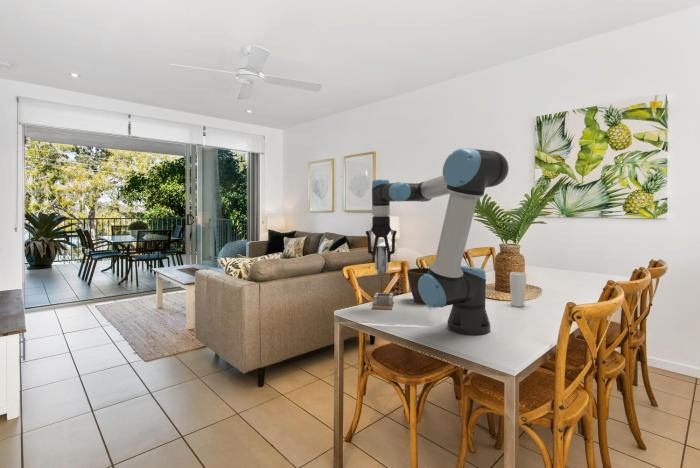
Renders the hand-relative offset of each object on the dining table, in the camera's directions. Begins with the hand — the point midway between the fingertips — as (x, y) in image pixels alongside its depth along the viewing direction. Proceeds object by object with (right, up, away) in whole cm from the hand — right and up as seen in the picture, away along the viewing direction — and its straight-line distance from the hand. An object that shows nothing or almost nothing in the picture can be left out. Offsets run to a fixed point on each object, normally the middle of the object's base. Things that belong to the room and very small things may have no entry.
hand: (381, 269), depth 159 cm
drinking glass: (+62, -17, +7) cm, 65 cm away
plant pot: (+21, -18, +12) cm, 30 cm away
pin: (0, -2, 0) cm, 2 cm away
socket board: (+1, -18, +7) cm, 19 cm away
